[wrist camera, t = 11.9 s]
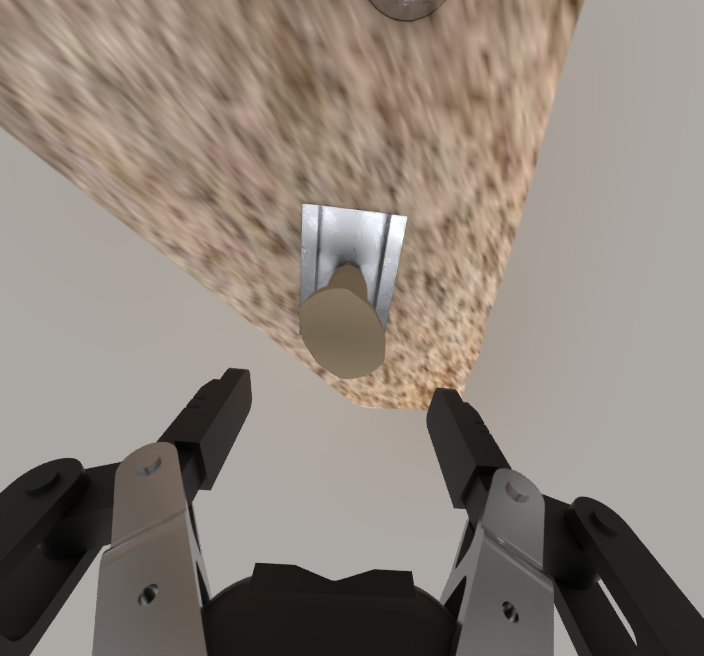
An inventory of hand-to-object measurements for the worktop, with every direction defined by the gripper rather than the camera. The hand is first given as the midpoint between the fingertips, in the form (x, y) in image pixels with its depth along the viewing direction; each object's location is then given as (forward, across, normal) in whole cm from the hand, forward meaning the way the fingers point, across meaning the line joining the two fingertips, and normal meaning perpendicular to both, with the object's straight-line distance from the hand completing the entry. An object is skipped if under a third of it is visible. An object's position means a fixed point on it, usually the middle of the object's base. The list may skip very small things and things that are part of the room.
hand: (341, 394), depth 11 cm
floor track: (+21, 0, 0) cm, 21 cm away
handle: (+20, 0, 0) cm, 20 cm away
